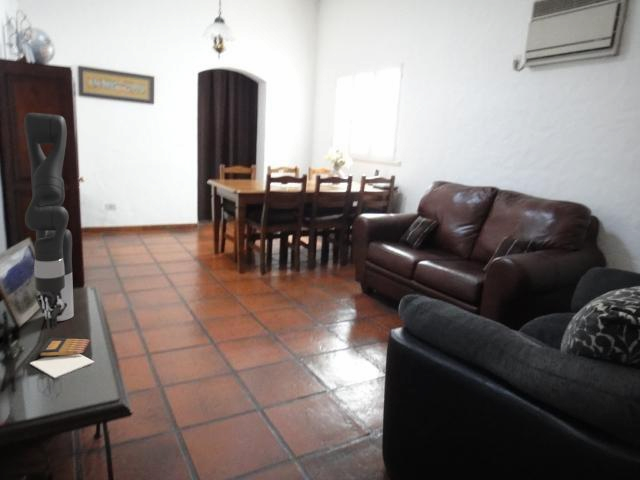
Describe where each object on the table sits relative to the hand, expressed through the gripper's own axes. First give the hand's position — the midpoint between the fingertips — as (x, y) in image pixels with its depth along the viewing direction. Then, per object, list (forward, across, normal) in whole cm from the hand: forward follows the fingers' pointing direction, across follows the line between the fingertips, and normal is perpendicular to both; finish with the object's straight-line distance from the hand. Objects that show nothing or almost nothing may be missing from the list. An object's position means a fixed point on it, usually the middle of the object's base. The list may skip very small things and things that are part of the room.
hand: (52, 328), depth 134 cm
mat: (+10, -4, 0) cm, 11 cm away
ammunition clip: (+9, +7, -1) cm, 11 cm away
